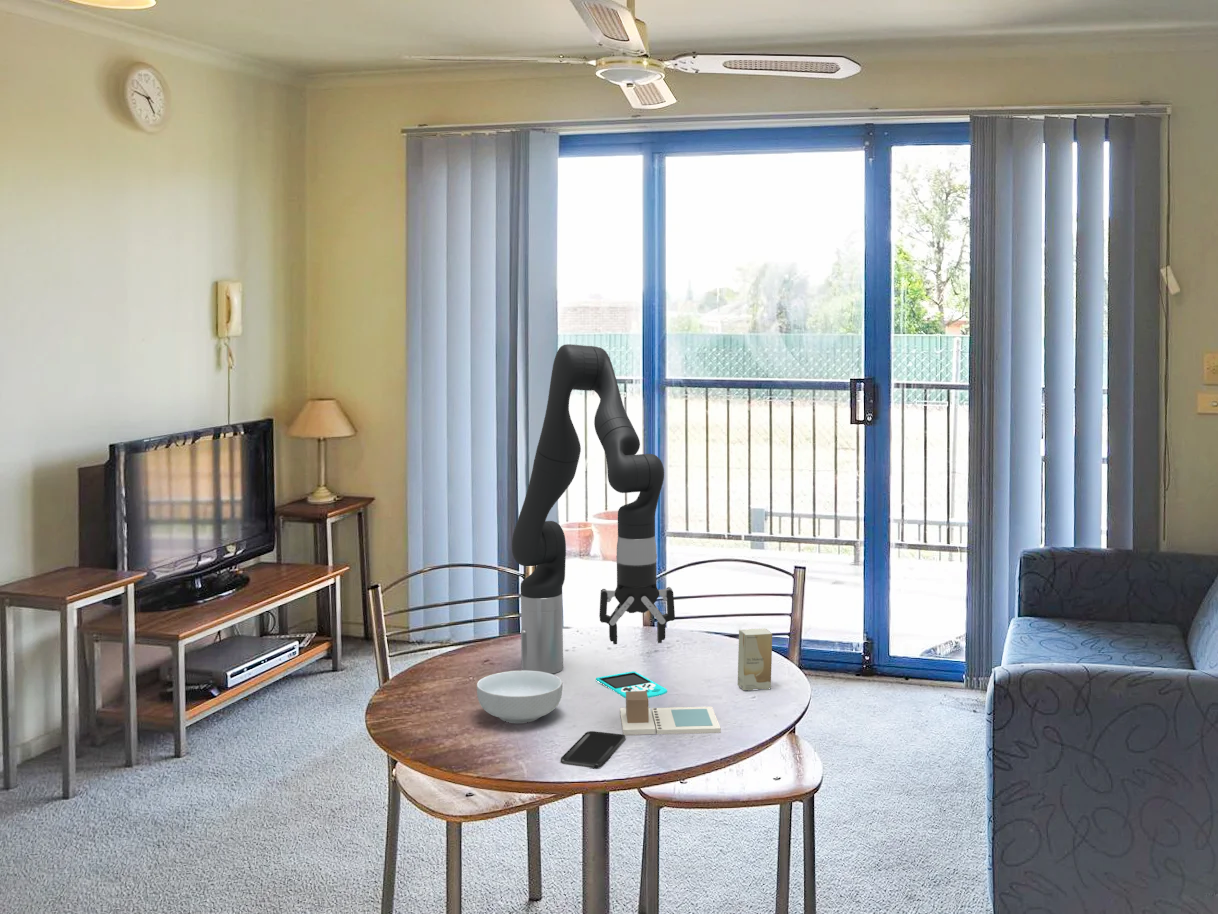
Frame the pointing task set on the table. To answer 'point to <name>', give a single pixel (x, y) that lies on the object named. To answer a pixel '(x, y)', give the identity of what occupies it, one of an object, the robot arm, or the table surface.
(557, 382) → the robot arm
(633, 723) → the brown cream block
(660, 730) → the ticket pad
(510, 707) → the cereal bowl
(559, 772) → the table surface
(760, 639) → the skincare box
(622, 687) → the handheld game console
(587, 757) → the phone
